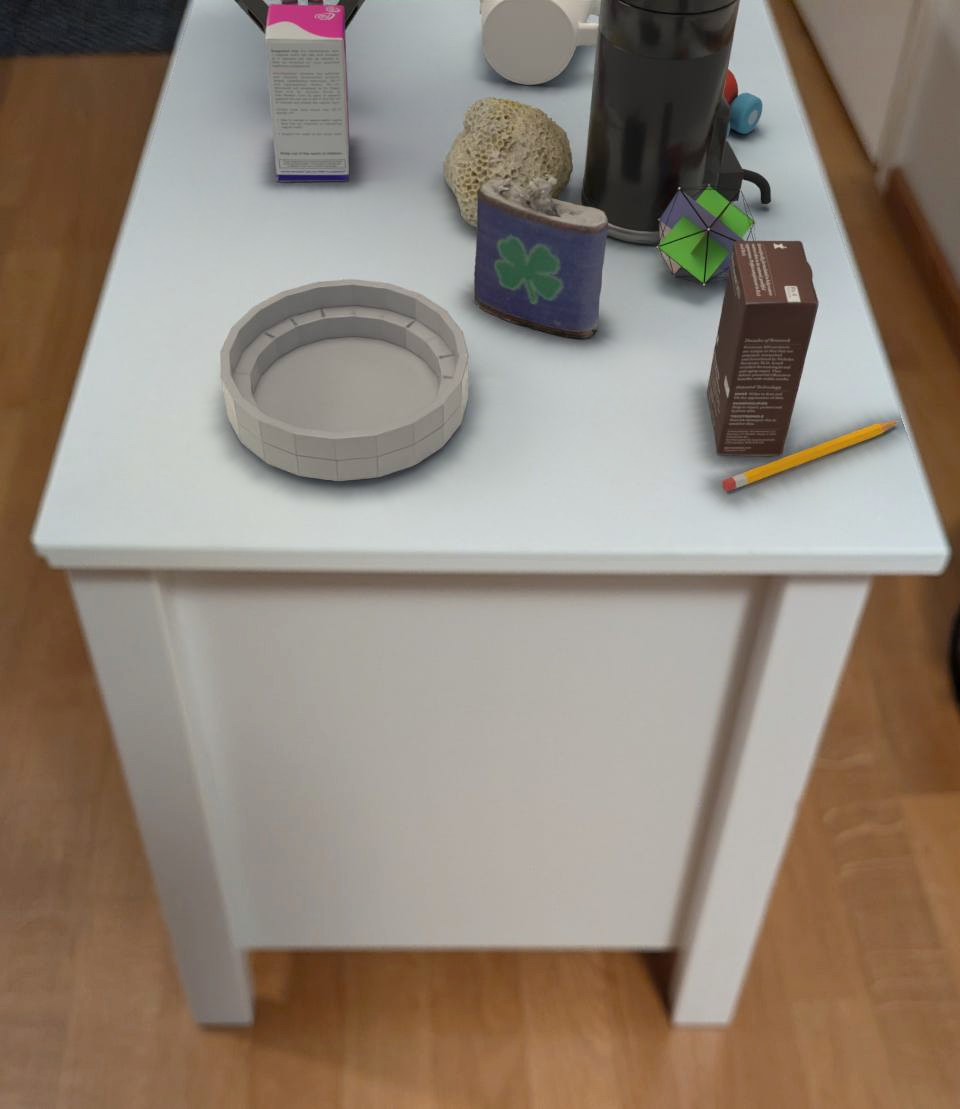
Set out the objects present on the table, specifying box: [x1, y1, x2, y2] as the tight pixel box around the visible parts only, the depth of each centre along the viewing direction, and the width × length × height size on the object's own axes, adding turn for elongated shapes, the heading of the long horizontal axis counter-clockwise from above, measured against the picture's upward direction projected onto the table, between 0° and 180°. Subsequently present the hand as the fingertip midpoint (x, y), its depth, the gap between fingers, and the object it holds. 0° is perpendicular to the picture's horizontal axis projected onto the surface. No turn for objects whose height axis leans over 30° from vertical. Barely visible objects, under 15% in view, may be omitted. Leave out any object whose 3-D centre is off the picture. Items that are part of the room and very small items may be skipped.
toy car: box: [723, 68, 763, 141], centre depth 101 cm, size 9×9×10 cm
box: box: [706, 240, 820, 457], centre depth 75 cm, size 6×4×12 cm
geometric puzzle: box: [655, 184, 757, 287], centre depth 88 cm, size 7×7×8 cm
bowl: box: [219, 278, 469, 482], centre depth 79 cm, size 15×15×4 cm
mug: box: [479, 0, 600, 86], centre depth 108 cm, size 12×9×8 cm
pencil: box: [721, 420, 901, 493], centre depth 78 cm, size 1×13×1 cm
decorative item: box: [442, 97, 574, 229], centre depth 94 cm, size 12×9×10 cm
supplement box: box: [264, 3, 350, 182], centre depth 95 cm, size 6×6×12 cm
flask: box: [473, 175, 609, 339], centre depth 83 cm, size 9×3×11 cm, turn 63°
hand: (310, 89), depth 98 cm, fingers closed
